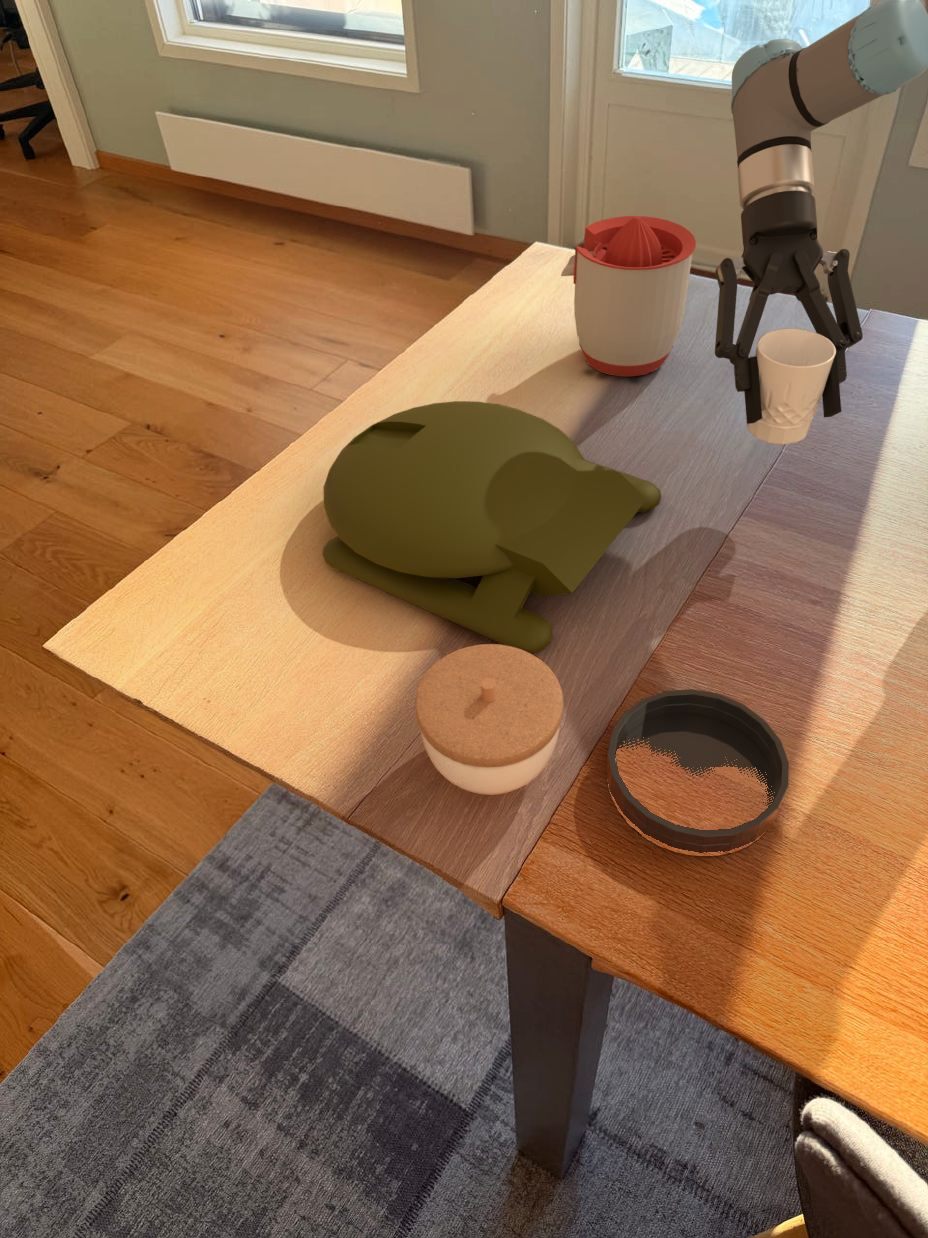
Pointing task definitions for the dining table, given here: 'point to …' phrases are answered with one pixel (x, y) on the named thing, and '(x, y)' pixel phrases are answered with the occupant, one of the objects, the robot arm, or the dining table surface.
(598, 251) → the citrus juicer
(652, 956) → the dining table surface
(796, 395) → the white cup
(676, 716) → the dark grey round dish
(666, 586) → the dining table surface
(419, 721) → the lidded bowl
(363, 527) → the spaceship
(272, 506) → the dining table surface
